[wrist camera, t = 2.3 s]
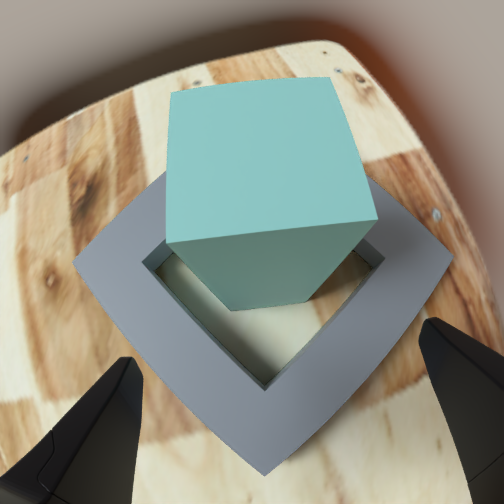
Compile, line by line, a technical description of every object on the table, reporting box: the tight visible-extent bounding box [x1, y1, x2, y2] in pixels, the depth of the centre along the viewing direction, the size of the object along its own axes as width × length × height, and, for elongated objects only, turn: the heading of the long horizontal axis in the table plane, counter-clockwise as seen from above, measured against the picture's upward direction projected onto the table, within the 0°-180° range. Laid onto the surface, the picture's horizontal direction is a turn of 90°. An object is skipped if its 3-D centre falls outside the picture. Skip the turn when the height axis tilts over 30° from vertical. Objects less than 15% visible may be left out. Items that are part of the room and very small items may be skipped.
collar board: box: [72, 171, 454, 476], centre depth 20 cm, size 19×19×2 cm
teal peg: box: [166, 77, 378, 311], centre depth 14 cm, size 5×5×14 cm
